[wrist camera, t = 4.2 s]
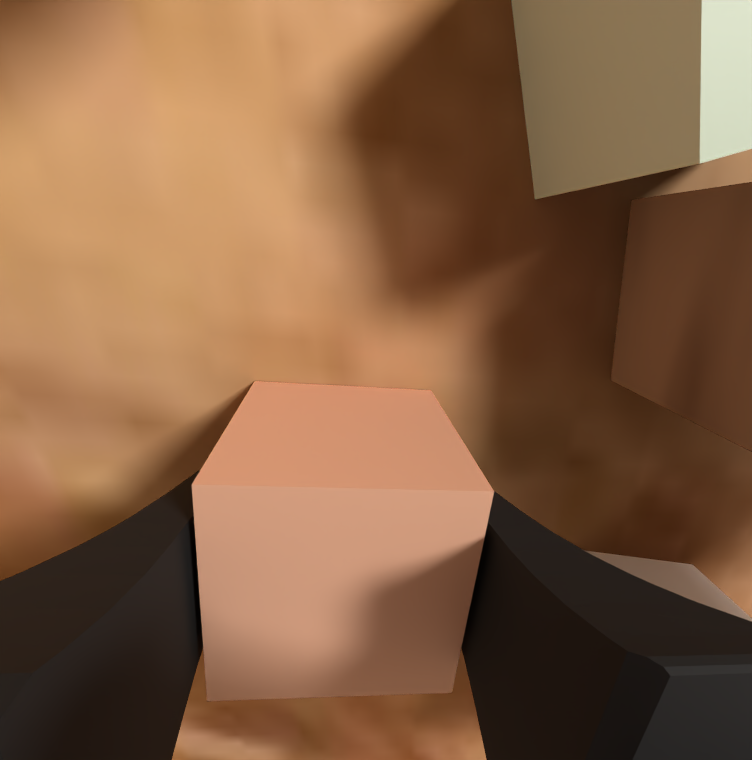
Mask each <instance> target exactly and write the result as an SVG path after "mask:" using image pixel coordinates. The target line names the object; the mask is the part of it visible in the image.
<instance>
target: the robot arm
mask: <svg viewBox="0 0 752 760" xmlns="http://www.w3.org/2000/svg"><path fill="white" fill-rule="evenodd" d="M200 470H201V469H200ZM200 470H199V471H197V472H196V473H195V474H193V475H192V476H191V477H189V478H188V479H186V480H185V481H184V482H182V483H181V484H179V485H178V486H177V487H175V488H174V489H173V490H171V491H170V492H168V493H167V494H165V495H164V496H162V497H161V498H159V499H158V500H156V501H155V502H153V503H151V504H150V505H148V506H147V507H145V508H144V509H142V510H141V511H139V512H138V513H136V514H135V515H133V516H131V517H130V518H128V519H126V520H125V521H123V522H121V523H120V524H118V525H116V526H114V527H113V528H111V529H109V530H107V531H105V532H104V533H102V534H100V535H98V536H96V537H94V538H92V539H91V540H89V541H87V542H85V543H83V544H81V545H79V546H77V547H75V548H73V549H71V550H69V551H66V552H64V553H62V554H60V555H58V556H56V557H54V558H51V559H49V560H47V561H45V562H43V563H41V564H38V565H36V566H34V567H32V568H30V569H28V570H26V571H23V572H21V573H19V574H16V575H14V576H12V577H9V578H7V579H4V580H2V581H0V760H172V756H173V752H174V748H175V745H176V741H177V737H178V733H179V730H180V726H181V722H182V718H183V715H184V711H185V707H186V704H187V700H188V697H189V693H190V690H191V686H192V682H193V679H194V675H195V672H196V668H197V665H198V662H199V659H200V656H201V653H202V650H203V637H202V623H201V609H200V595H199V581H198V567H197V553H196V539H195V525H194V511H193V497H192V483H193V482H194V480H195V478H196V477H197V475H198V473H199V472H200ZM461 648H462V652H463V655H464V659H465V663H466V667H467V672H468V676H469V680H470V685H471V689H472V693H473V698H474V702H475V707H476V711H477V716H478V721H479V725H480V730H481V735H482V739H483V744H484V749H485V753H486V758H487V760H752V621H749V620H746V619H743V618H740V617H738V616H735V615H732V614H729V613H726V612H723V611H721V610H718V609H715V608H712V607H709V606H707V605H704V604H701V603H698V602H696V601H693V600H690V599H688V598H685V597H683V596H681V595H678V594H676V593H673V592H671V591H669V590H666V589H664V588H661V587H659V586H657V585H654V584H652V583H650V582H647V581H645V580H643V579H641V578H638V577H636V576H634V575H632V574H630V573H628V572H625V571H623V570H621V569H619V568H617V567H615V566H613V565H611V564H609V563H607V562H605V561H603V560H601V559H599V558H597V557H595V556H593V555H592V554H590V553H588V552H586V551H584V550H582V549H580V548H579V547H577V546H575V545H574V544H572V543H570V542H569V541H567V540H565V539H563V538H562V537H560V536H558V535H557V534H555V533H553V532H552V531H550V530H549V529H547V528H545V527H544V526H542V525H541V524H539V523H538V522H536V521H535V520H533V519H532V518H531V517H529V516H528V515H526V514H525V513H523V512H522V511H520V510H519V509H518V508H516V507H515V506H513V505H512V504H511V503H509V502H508V501H507V500H505V499H504V498H503V497H501V496H500V495H499V494H498V493H496V492H495V491H494V495H493V500H492V504H491V509H490V514H489V519H488V523H487V528H486V533H485V538H484V542H483V547H482V552H481V557H480V561H479V566H478V571H477V576H476V580H475V585H474V590H473V594H472V599H471V604H470V609H469V613H468V618H467V623H466V628H465V632H464V637H463V642H462V647H461Z"/></svg>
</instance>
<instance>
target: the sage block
mask: <svg viewBox="0 0 752 760" xmlns="http://www.w3.org/2000/svg"><path fill="white" fill-rule="evenodd" d="M511 3H512V11H513V19H514V28H515V36H516V45H517V53H518V61H519V70H520V78H521V87H522V95H523V103H524V112H525V120H526V129H527V137H528V145H529V154H530V162H531V171H532V179H533V187H534V196H535V199H539V198H544V197H548V196H553V195H558V194H562V193H567V192H571V191H576V190H581V189H585V188H590V187H594V186H599V185H604V184H608V183H613V182H617V181H622V180H627V179H631V178H636V177H640V176H645V175H650V174H654V173H659V172H663V171H668V170H673V169H677V168H682V167H686V166H691V165H696V164H700V163H703V162H707V161H710V160H714V159H717V158H721V157H724V156H728V155H731V154H735V153H738V152H742V151H745V150H749V149H752V0H511Z"/></svg>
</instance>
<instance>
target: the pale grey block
mask: <svg viewBox="0 0 752 760" xmlns="http://www.w3.org/2000/svg"><path fill="white" fill-rule="evenodd" d="M584 551H585V550H584ZM586 552H588V553H590V554H592V555H593V556H595V557H597V558H599V559H601V560H603V561H605V562H607V563H609V564H611V565H613V566H615V567H617V568H619V569H621V570H623V571H625V572H628V573H630V574H632V575H634V576H636V577H638V578H641V579H643V580H645V581H647V582H650V583H652V584H654V585H657V586H659V587H661V588H664V589H666V590H669V591H671V592H673V593H676V594H678V595H681V596H683V597H685V598H688V599H690V600H693V601H696V602H698V603H701V604H704V605H707V606H709V607H712V608H715V609H718V610H721V611H723V612H726V613H729V614H732V615H735V616H738V617H740V618H743V619H746V620H749V621H752V618H751V617H750V616H749V615H748V614H746V613H745V612H744V611H743V610H742V609H741V608H740V607H739V606H738V605H737V604H735V603H734V602H733V601H732V600H731V599H730V598H729V597H728V596H727V595H726V594H724V593H723V592H722V591H721V590H720V589H719V588H718V587H717V586H716V585H715V584H714V583H712V582H711V581H710V580H709V579H708V578H707V577H706V576H705V575H704V574H703V573H701V572H700V571H699V570H698V569H697V568H696V567H695V566H694V565H693V564H685V563H677V562H670V561H662V560H654V559H646V558H639V557H631V556H623V555H616V554H608V553H600V552H593V551H586Z"/></svg>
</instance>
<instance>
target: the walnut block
mask: <svg viewBox="0 0 752 760" xmlns="http://www.w3.org/2000/svg"><path fill="white" fill-rule="evenodd" d="M611 381H613V382H615V383H617V384H619V385H621V386H623V387H625V388H627V389H629V390H631V391H633V392H635V393H637V394H639V395H641V396H643V397H645V398H647V399H649V400H651V401H653V402H655V403H657V404H658V405H660V406H662V407H664V408H666V409H668V410H670V411H672V412H674V413H676V414H678V415H680V416H682V417H684V418H686V419H688V420H690V421H692V422H694V423H696V424H698V425H700V426H702V427H704V428H706V429H708V430H710V431H712V432H714V433H716V434H718V435H720V436H722V437H724V438H726V439H728V440H730V441H732V442H734V443H735V444H737V445H739V446H741V447H743V448H745V449H747V450H749V451H751V452H752V182H749V183H742V184H735V185H729V186H722V187H715V188H708V189H702V190H695V191H688V192H681V193H674V194H668V195H661V196H654V197H647V198H640V199H634V200H631V208H630V217H629V225H628V234H627V243H626V251H625V260H624V269H623V277H622V286H621V295H620V303H619V312H618V321H617V329H616V338H615V347H614V355H613V364H612V373H611Z"/></svg>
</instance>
